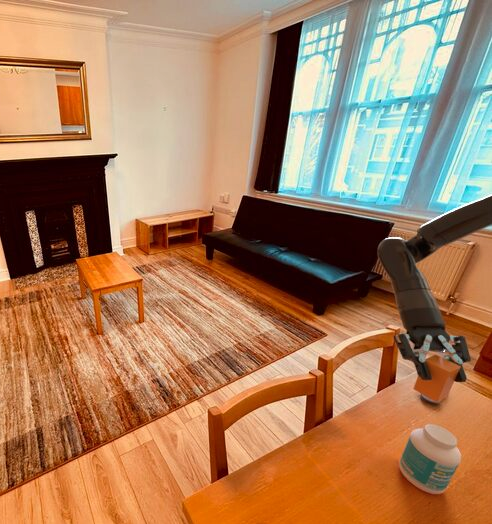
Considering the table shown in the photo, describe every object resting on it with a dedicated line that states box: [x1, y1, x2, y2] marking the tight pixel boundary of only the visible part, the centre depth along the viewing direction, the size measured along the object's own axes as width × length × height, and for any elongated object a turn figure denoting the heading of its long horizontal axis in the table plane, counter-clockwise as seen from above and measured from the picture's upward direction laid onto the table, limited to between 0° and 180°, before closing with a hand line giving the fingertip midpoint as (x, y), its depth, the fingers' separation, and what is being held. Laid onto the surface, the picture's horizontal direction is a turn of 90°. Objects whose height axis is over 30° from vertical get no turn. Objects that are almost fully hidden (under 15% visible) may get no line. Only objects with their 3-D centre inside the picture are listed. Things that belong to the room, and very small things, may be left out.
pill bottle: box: [398, 423, 462, 495], centre depth 58 cm, size 8×7×14 cm
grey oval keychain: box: [419, 393, 442, 406], centre depth 79 cm, size 9×4×1 cm, turn 112°
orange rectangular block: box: [413, 354, 461, 402], centre depth 65 cm, size 4×4×9 cm
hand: (443, 380), depth 63 cm, fingers closed on orange rectangular block, 6 cm apart
